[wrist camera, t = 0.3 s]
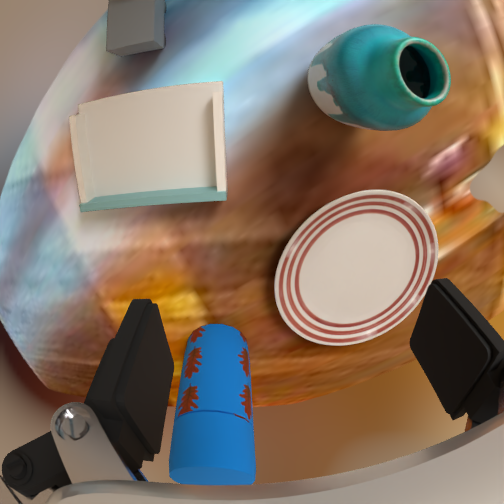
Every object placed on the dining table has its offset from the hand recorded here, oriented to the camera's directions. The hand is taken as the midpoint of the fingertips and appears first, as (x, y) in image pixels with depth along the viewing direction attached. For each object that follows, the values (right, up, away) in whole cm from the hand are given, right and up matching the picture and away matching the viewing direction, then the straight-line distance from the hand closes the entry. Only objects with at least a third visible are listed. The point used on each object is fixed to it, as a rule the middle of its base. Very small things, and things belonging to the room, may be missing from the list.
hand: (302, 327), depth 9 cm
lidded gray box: (-15, +31, +18) cm, 38 cm away
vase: (+9, +24, +23) cm, 34 cm away
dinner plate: (+15, 0, +35) cm, 38 cm away
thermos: (-8, -14, +40) cm, 43 cm away
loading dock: (-14, +16, +25) cm, 33 cm away
